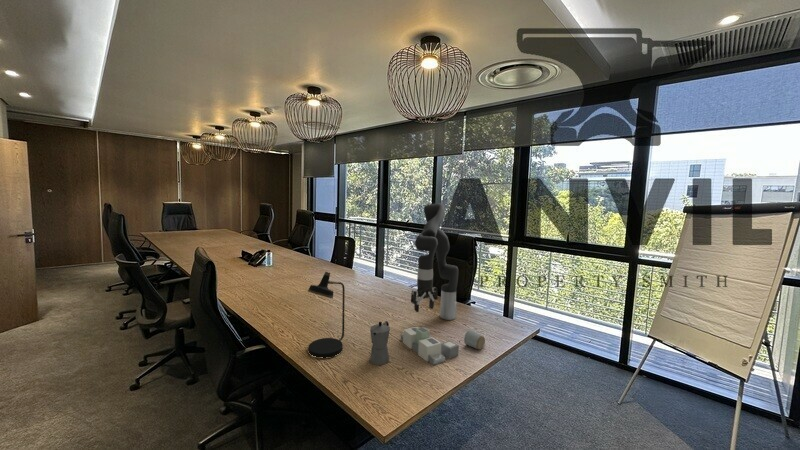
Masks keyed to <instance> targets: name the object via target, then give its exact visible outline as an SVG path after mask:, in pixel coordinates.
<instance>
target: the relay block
mask: <svg viewBox="0 0 800 450" xmlns="http://www.w3.org/2000/svg"><path fill="white" fill-rule="evenodd" d="M459 350H460V345H459V344H457V343H455V342H453V341H451V340H447V341H445V342H443V343H442V342H441V355H443V356H444V357H445V358H447V359H450V360H451V359H453V358H455V357H458V356H459Z"/></svg>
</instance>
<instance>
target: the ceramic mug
mask: <svg viewBox="0 0 800 450" xmlns="http://www.w3.org/2000/svg"><path fill="white" fill-rule="evenodd" d="M463 341H464V344H465V345H467V346H469V347H472V348H473V349H475V350H482V349H483V347H484V345H486V339H485V336H484V335H482V334H481V333H478V332H476V331H475V330H473V329H469V330H467V331H466V332H465V335H464V339H463Z"/></svg>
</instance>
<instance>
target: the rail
mask: <svg viewBox="0 0 800 450" xmlns="http://www.w3.org/2000/svg"><path fill="white" fill-rule="evenodd" d="M400 339H401V340H400V341H401V342H403V333H400ZM412 350H413V351H414V352H416V353H417V354H418V345H416V344H415V343H414V342H413V343H412ZM427 362H428V363H430V364H431V365H432V366H435V365H438V364H441V363H444V362H446V357H445V356H444V355H442V354H437V355H434V356H431V355H428V361H427Z"/></svg>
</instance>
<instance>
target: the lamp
mask: <svg viewBox="0 0 800 450" xmlns="http://www.w3.org/2000/svg"><path fill="white" fill-rule="evenodd" d="M330 277H331V273H330V272H328V271H324V273H323V276H322V278H321V280H320V282H319V284H318V285H315V284H311V285H310V286H309V288H308V289H307V292H308V293H310V294H314V295H318V296H322V297H325V298H329V299H332V300H333V299H334V294H335V293H334V292H335V291H333V290H331V289H329V287H328V285H341V289H342V306H341V307H342V315H341V316H342V317H341V319H342V320H341V322H342V323H341V324H342V325H341V326H342V327H341V328H342V329H341V331H342V332H341V337H340V338H339V339H338V338H333V337H322V338H319V339H314V341H312V342H311V343H309V345H308V350H307V352H308V351H309V353H310V354H311V355H313V356H316V357H323V358H326V357H332V356H335V355H337V354H339V353H340V352H341V351H342V352H343V350H344V348H343V342H342V340H343V339H344V337H345V297H346V296H345V295H346V294H345V285H344V283H343V282H341V281H333V280H330ZM342 349H343V350H342ZM342 352H341V353H342ZM309 353H308V354H309ZM341 353H340V354H341ZM340 354H339V355H340ZM337 356H338V355H337ZM335 357H336V356H335ZM332 358H333V357H332Z"/></svg>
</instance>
